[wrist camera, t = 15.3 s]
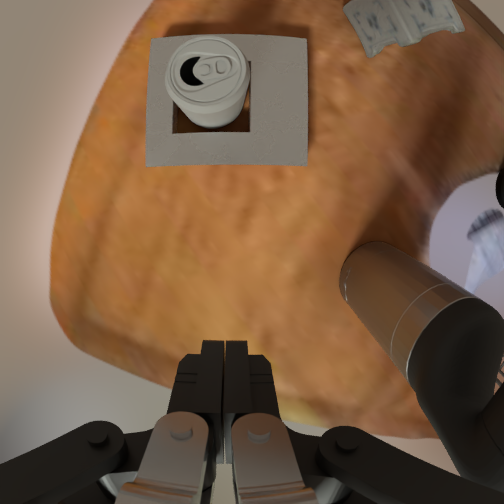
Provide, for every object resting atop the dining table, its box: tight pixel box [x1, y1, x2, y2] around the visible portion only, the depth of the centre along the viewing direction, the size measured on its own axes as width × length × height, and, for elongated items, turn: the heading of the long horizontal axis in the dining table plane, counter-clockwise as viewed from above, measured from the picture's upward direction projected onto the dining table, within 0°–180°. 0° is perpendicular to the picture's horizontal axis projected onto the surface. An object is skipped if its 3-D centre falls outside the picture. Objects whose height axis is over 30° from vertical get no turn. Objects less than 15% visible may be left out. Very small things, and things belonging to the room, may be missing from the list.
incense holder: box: [343, 0, 465, 58], centre depth 23 cm, size 10×8×10 cm
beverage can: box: [165, 36, 250, 129], centre depth 24 cm, size 6×6×12 cm
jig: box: [146, 34, 308, 167], centre depth 29 cm, size 16×14×3 cm
